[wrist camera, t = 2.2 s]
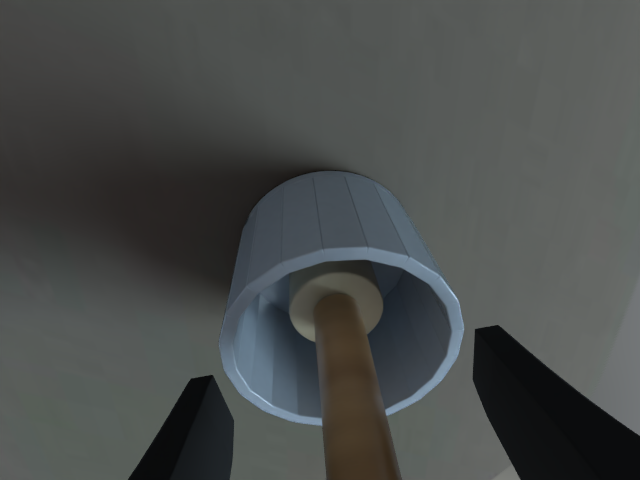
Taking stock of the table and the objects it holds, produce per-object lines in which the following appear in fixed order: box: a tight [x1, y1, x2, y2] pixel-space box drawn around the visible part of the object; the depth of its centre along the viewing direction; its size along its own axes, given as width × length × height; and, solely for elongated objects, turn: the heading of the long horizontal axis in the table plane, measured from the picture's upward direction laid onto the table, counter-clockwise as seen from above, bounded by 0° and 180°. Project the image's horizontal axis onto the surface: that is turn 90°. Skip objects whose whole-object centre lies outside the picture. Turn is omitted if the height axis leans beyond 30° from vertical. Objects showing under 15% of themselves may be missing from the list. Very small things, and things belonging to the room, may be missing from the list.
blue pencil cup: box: [218, 171, 464, 426], centre depth 14 cm, size 7×7×6 cm
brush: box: [289, 260, 402, 480], centre depth 12 cm, size 3×3×10 cm
